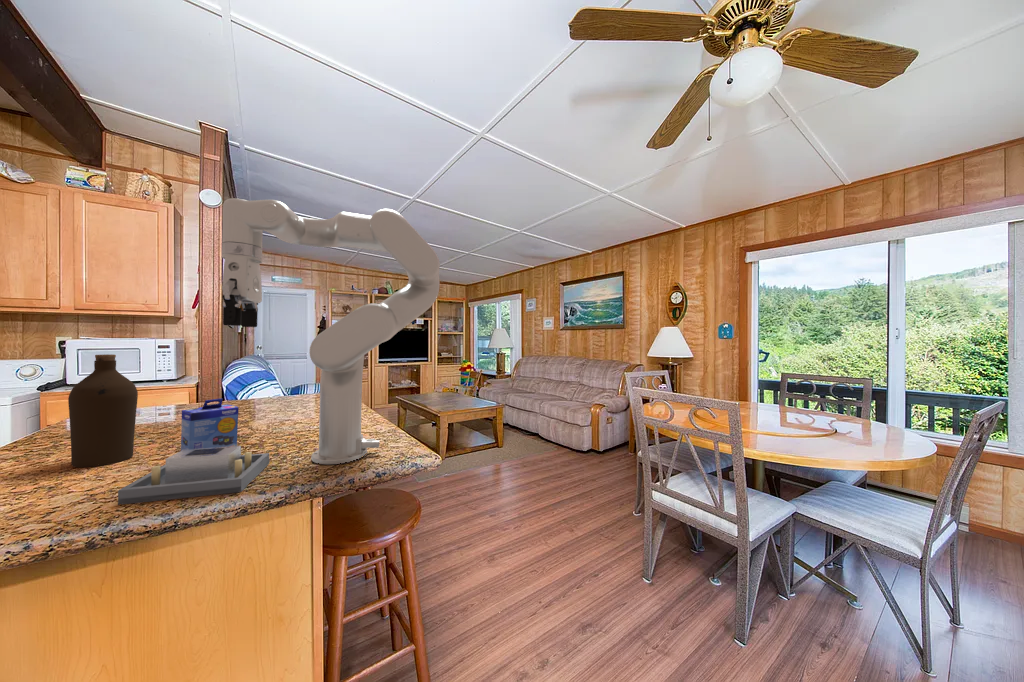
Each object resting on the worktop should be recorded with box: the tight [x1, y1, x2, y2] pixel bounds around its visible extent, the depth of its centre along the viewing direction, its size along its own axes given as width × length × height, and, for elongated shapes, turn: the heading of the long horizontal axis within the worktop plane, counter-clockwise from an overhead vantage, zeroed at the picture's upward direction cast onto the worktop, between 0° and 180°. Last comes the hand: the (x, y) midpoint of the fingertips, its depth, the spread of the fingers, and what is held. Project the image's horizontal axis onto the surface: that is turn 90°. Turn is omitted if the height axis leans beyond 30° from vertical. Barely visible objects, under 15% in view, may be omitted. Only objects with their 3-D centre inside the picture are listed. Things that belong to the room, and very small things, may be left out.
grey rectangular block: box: [165, 445, 242, 484], centre depth 71 cm, size 10×6×5 cm, turn 108°
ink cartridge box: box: [180, 397, 239, 451], centre depth 85 cm, size 10×6×14 cm, turn 152°
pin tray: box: [117, 451, 270, 506], centre depth 71 cm, size 18×16×4 cm
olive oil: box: [67, 353, 139, 468], centre depth 82 cm, size 11×11×25 cm
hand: (241, 326), depth 82 cm, fingers open, 9 cm apart
